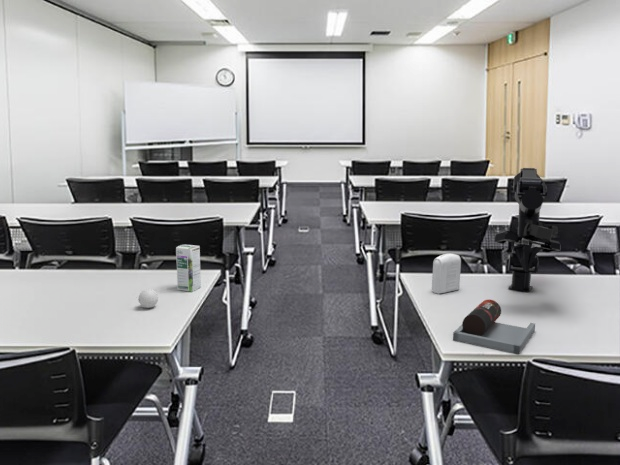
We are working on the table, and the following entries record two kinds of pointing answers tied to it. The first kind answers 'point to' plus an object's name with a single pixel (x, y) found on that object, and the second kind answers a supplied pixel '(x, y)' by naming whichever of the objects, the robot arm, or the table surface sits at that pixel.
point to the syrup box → (188, 267)
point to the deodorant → (481, 317)
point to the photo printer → (446, 273)
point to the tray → (498, 337)
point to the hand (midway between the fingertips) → (526, 270)
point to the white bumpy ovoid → (148, 298)
